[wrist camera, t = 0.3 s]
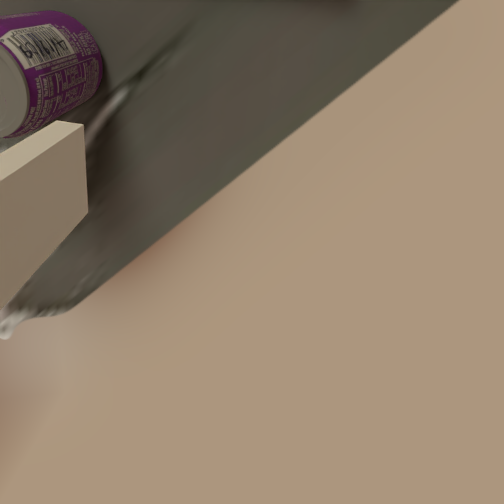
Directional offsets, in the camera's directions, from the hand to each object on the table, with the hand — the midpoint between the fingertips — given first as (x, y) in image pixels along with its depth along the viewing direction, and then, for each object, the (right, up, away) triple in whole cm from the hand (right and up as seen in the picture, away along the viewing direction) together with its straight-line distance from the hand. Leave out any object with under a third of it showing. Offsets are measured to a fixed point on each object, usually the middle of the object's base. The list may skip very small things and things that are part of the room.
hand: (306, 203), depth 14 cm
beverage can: (-17, +14, +25) cm, 33 cm away
